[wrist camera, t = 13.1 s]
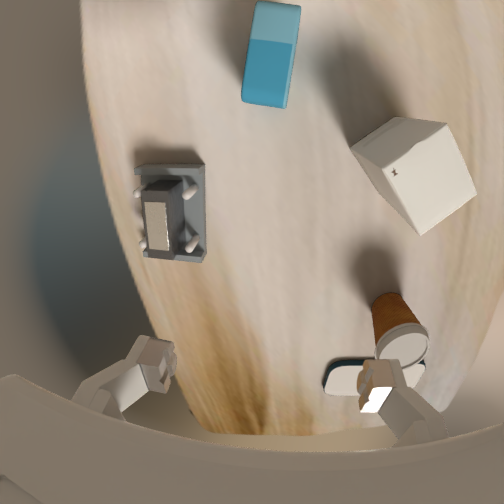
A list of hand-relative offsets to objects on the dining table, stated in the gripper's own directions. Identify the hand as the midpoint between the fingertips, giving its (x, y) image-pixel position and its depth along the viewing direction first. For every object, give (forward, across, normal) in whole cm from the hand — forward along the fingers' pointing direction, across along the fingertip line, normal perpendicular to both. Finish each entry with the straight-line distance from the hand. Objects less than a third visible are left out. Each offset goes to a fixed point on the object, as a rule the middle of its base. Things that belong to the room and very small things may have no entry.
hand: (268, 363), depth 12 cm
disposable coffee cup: (+33, -21, +21) cm, 45 cm away
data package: (+33, +2, -16) cm, 37 cm away
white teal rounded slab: (+34, -25, +41) cm, 59 cm away
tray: (+33, +16, +6) cm, 37 cm away
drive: (+32, +16, +6) cm, 36 cm away
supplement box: (+33, -15, -5) cm, 37 cm away
